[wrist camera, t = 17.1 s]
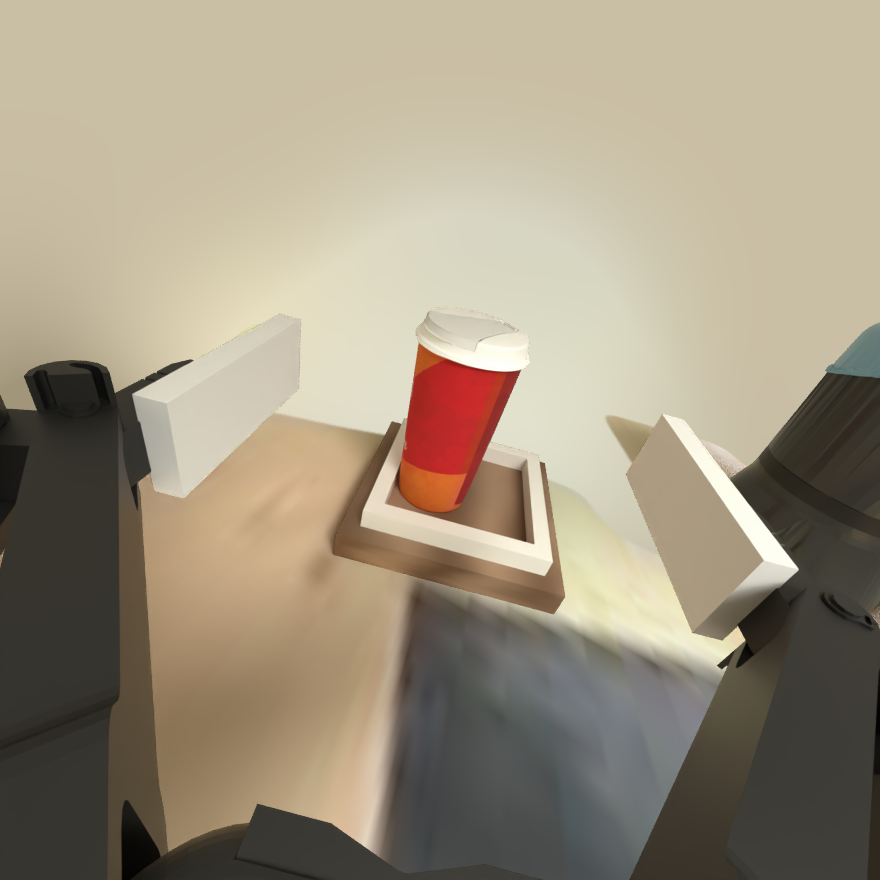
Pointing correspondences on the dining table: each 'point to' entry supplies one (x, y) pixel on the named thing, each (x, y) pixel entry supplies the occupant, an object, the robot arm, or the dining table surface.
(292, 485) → the dining table surface
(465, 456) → the paper cup
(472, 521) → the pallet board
